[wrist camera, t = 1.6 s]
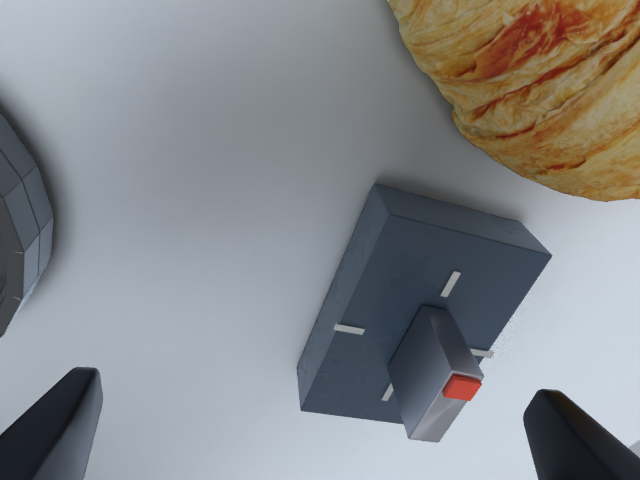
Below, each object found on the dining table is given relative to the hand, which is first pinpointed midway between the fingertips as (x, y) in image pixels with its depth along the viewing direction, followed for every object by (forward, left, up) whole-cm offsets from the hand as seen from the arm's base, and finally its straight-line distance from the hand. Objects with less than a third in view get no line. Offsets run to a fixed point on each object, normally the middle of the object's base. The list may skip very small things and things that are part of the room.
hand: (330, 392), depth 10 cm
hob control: (-6, -8, -13) cm, 16 cm away
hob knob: (-6, -8, -10) cm, 14 cm away
